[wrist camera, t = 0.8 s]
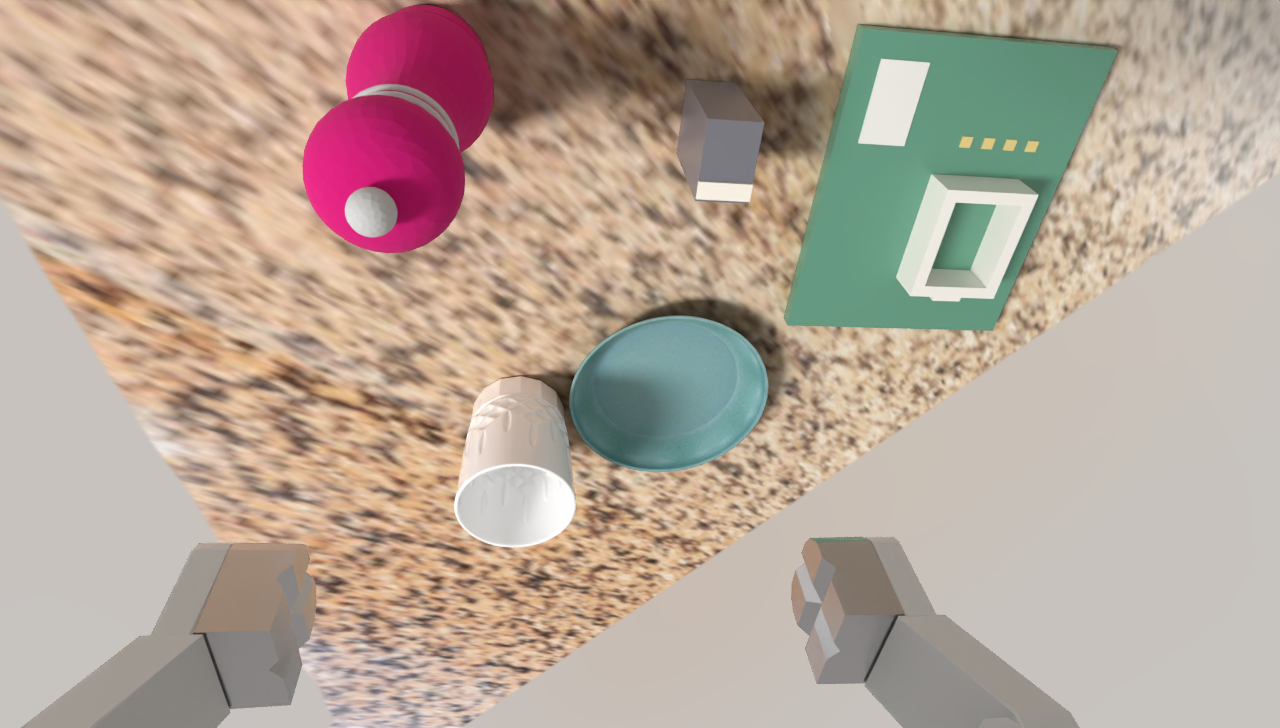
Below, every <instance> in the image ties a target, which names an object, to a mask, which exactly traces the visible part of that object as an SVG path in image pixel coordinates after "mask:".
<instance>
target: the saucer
mask: <svg viewBox="0 0 1280 728" xmlns="http://www.w3.org/2000/svg"><path fill="white" fill-rule="evenodd" d="M768 386H769V385H768V376H767V371H766V368H765V365H764V363H763V361H762V358H761V356H760V355H759V353H758V351H757V350H756V349H755V347H754V346H753V345H752V344H751V343H750V342H749V341H748V340H747V339H746V338H745V337H744V336H742V335H741V334H740V333H738V332H737V331H735V330H733V329H731V328H730V327H728V326H726V325H723V324H721V323H718V322H715V321H712V320H709V319H705V318H700V317H694V316H681V315H674V316H662V317H655V318H650V319H646V320H643V321H640V322H637V323H634V324H632V325H629V326H627V327H625V328H623V329H621V330H619V331H617V332H615V333H614V334H612V335H611V336H609V337H607V338H606V339H605V340H604V341H602V342H601V343H600V344H599V345H597V346H596V347H595V348H594V349H593V350H592V351H591V352H590V353H589V355H588V356H587V357H586V358H585V359H584V361H583V362H582V364H581V365H580V367H579V369H578V370H577V372H576V374H575V377H574V379H573V382H572V385H571V389H570V396H569V408H570V413H571V418H572V421H573V423H574V426H575V428H576V430H577V432H578V433H579V435H580V436H581V438H582V439H583V441H584V442H585V443H586V444H587V445H588V446H589V447H590V448H591V449H592V450H593V451H595V452H596V453H597V454H599V455H600V456H602V457H603V458H605V459H607V460H609V461H611V462H613V463H615V464H617V465H620V466H623V467H626V468H630V469H634V470H639V471H647V472H671V471H679V470H685V469H688V468H692V467H695V466H699V465H702V464H704V463H707V462H710V461H712V460H714V459H716V458H718V457H720V456H722V455H723V454H725V453H726V452H728V451H730V450H731V449H732V448H734V447H735V446H737V445H738V444H739V443H740V442H741V441H742V440H743V439H744V438H745V437H746V436H747V435H748V434H749V433H750V432H751V431H752V430H753V428H754V427H755V425H756V424H757V423H758V421H759V419H760V417H761V416H762V413H763V411H764V408H765V405H766V401H767V397H768Z"/></svg>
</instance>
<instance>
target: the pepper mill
mask: <svg viewBox="0 0 1280 728" xmlns="http://www.w3.org/2000/svg"><path fill="white" fill-rule="evenodd" d="M346 86H347V94H348V100H347V101H344V102H342V103H341V104H339V105H337V106H336V107H334V108H333V109H331V110H330V111H329V112H328V113H327V114H326V115H325V116H324V117H323V118H322V119H321V120H320V121H318V123H317V124H316V126H315V128H314V129H313V131H312V133H311V135H310V137H309V139H308V141H307V144H306V147H305V150H304V157H303V181H304V184H305V188H306V192H307V195H308V197H309V200H310V202H311V204H312V206H313V208H314V210H315V211H316V213H317V214H318V216H319V217H320V218H321V219H322V221H323V222H324V223H325V224H326V225H327V226H328V227H329V228H330V229H331V230H333V231H334V232H335V233H336V234H337V235H339V236H340V237H342V238H343V239H345V240H346V241H348V242H350V243H352V244H354V245H356V246H358V247H361V248H363V249H367V250H371V251H375V252H383V253H400V252H406V251H411V250H413V249H416V248H419V247H421V246H424V245H426V244H428V243H429V242H431V241H432V240H434V239H435V238H437V237H438V236H439V235H440V234H441V233H442V232H444V231H445V230H446V228H447V227H448V226H449V225H450V223H451V222H452V221H453V219H454V218H455V216H456V214H457V212H458V210H459V208H460V205H461V202H462V199H463V195H464V187H465V172H464V164H463V160H462V156H461V154H460V153H461V152H463V151H464V150H465V149H467V148H468V147H470V146H471V145H472V144H473V143H474V142H475V141H476V140H477V138H478V137H479V136H480V135H481V133H482V131H483V130H484V128H485V126H486V124H487V122H488V119H489V116H490V114H491V111H492V107H493V99H494V86H493V79H492V75H491V71H490V67H489V65H488V62H487V57H486V53H485V50H484V47H483V45H482V43H481V41H480V39H479V37H478V36H477V34H476V33H475V32H474V30H473V29H472V28H471V27H470V26H469V25H468V24H467V23H466V22H465V21H464V20H463V19H462V18H460V17H459V16H457V15H456V14H454V13H452V12H450V11H448V10H446V9H443V8H441V7H437V6H432V5H414V6H409V7H406V8H403V9H401V10H399V11H397V12H395V13H393V14H390V15H388V16H385V17H383V18H381V19H379V20H378V21H376V22H374V23H373V24H371V25H370V26H369V27H368V28H367V29H366V30H365V31H364V32H363V33H362V35H361V36H360V38H359V39H358V40H357V42H356V44H355V46H354V48H353V51H352V53H351V56H350V59H349V62H348V66H347V74H346Z"/></svg>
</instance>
